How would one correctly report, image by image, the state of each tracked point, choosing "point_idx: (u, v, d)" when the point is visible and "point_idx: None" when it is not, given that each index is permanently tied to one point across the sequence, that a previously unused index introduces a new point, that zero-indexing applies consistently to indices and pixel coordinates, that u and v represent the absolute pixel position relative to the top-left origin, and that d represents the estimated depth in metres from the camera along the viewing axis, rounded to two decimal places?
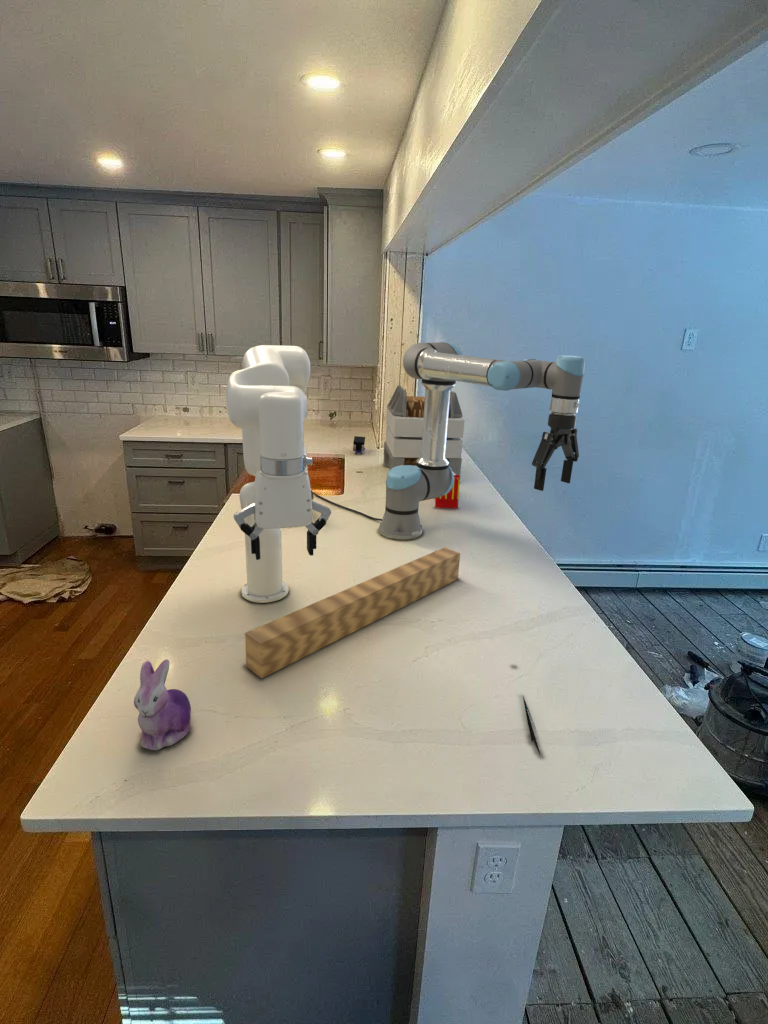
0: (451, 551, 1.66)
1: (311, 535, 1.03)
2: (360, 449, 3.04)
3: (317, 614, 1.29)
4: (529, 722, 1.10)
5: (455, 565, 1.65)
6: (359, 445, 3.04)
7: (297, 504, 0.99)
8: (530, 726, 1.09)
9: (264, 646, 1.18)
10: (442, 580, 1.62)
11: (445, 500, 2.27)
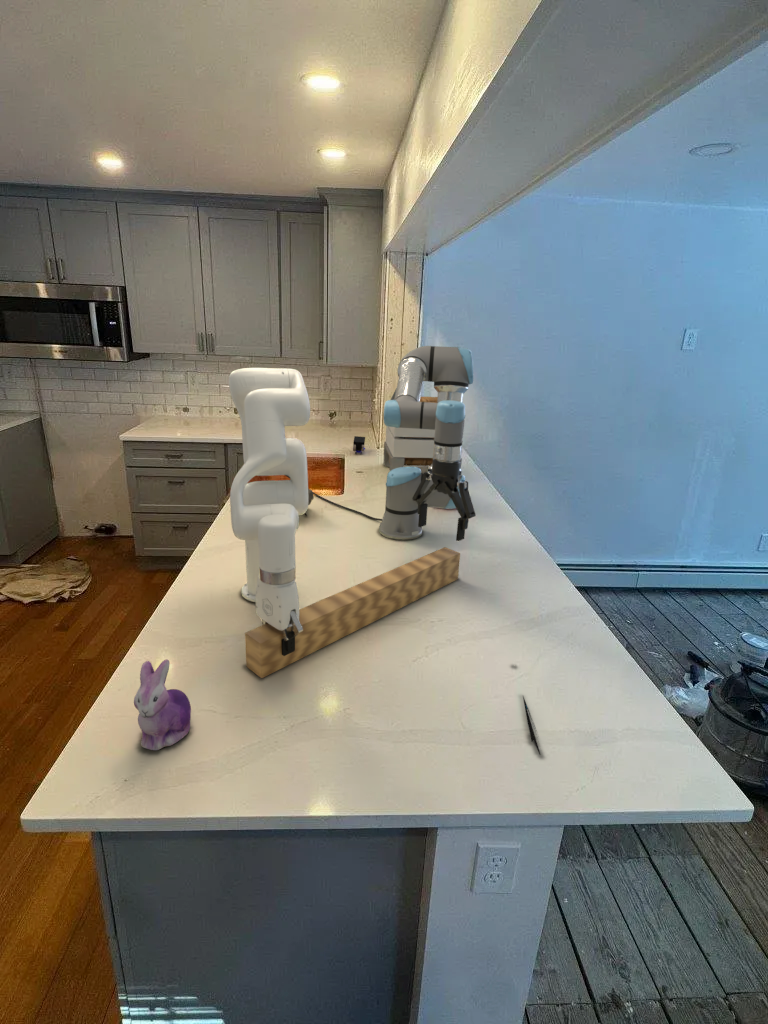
0: (451, 551, 1.66)
1: None
2: (360, 449, 3.04)
3: (317, 614, 1.29)
4: (529, 722, 1.10)
5: (455, 565, 1.65)
6: (359, 445, 3.04)
7: None
8: (530, 726, 1.09)
9: (264, 646, 1.18)
10: (442, 580, 1.62)
11: None
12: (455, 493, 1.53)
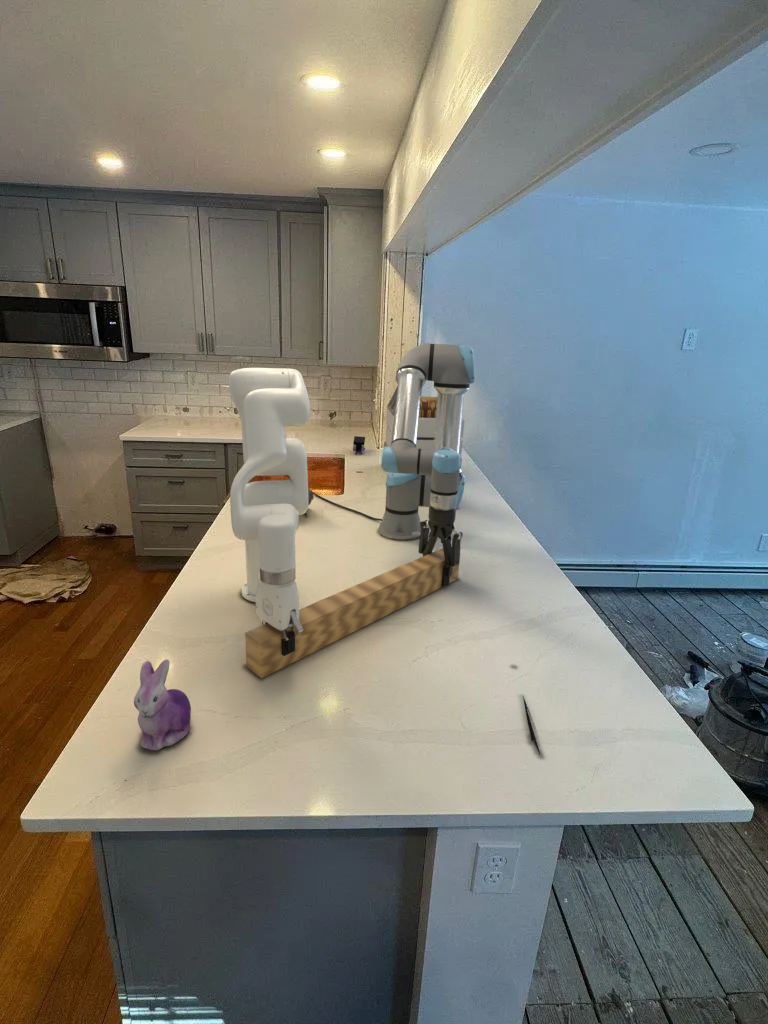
0: None
1: None
2: (360, 449, 3.04)
3: (317, 614, 1.29)
4: (529, 722, 1.10)
5: None
6: (359, 445, 3.04)
7: None
8: (530, 726, 1.09)
9: (264, 646, 1.18)
10: None
11: None
12: (447, 541, 1.59)
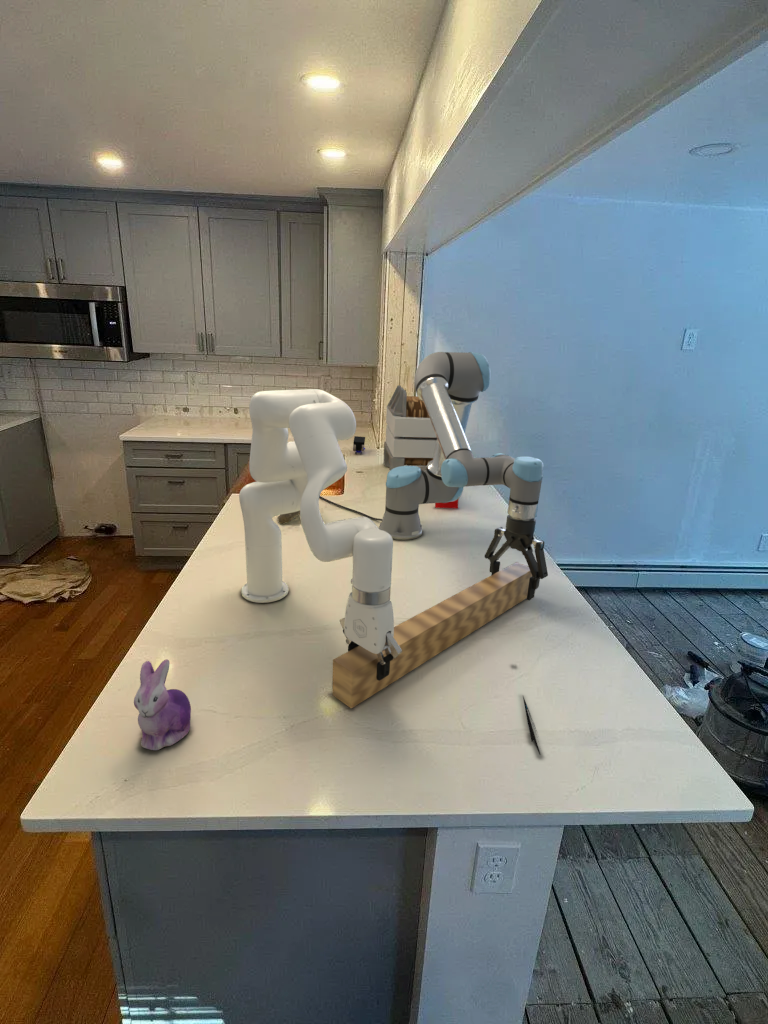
0: (525, 566, 1.58)
1: None
2: (360, 449, 3.04)
3: (404, 638, 1.21)
4: (529, 722, 1.10)
5: None
6: (359, 445, 3.04)
7: None
8: (530, 726, 1.09)
9: (355, 674, 1.10)
10: (517, 597, 1.54)
11: None
12: (529, 551, 1.49)
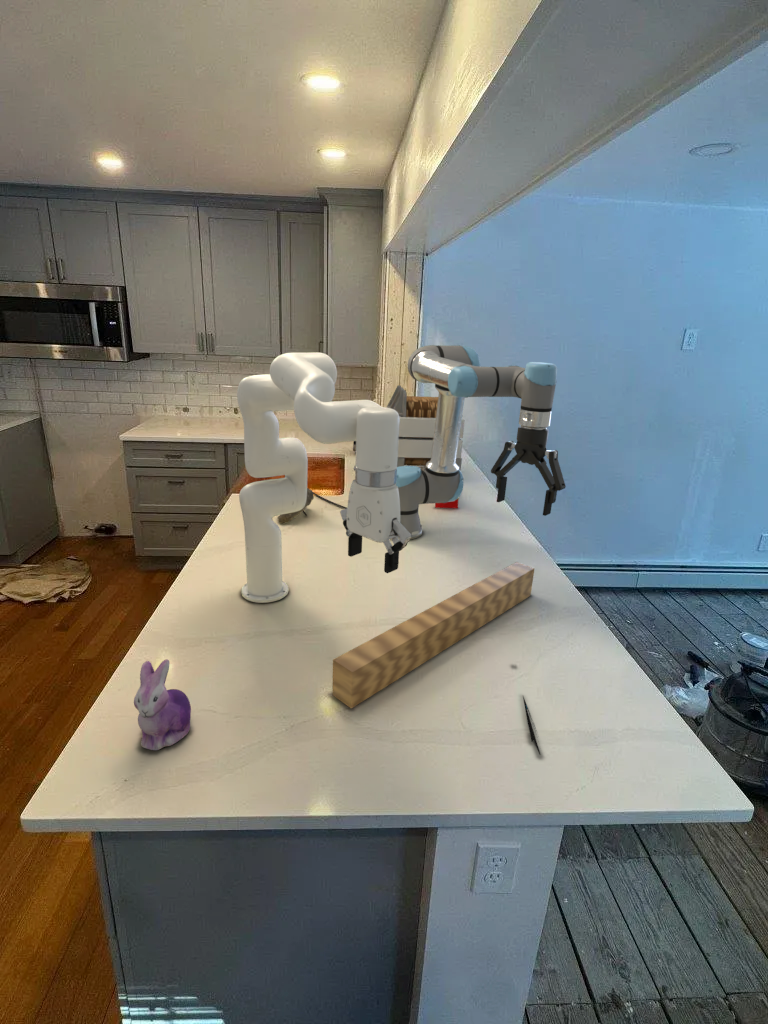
0: (525, 566, 1.58)
1: None
2: None
3: (404, 638, 1.21)
4: (529, 722, 1.10)
5: (529, 581, 1.57)
6: None
7: None
8: (530, 726, 1.09)
9: (355, 674, 1.10)
10: (517, 597, 1.54)
11: None
12: (542, 463, 1.41)
